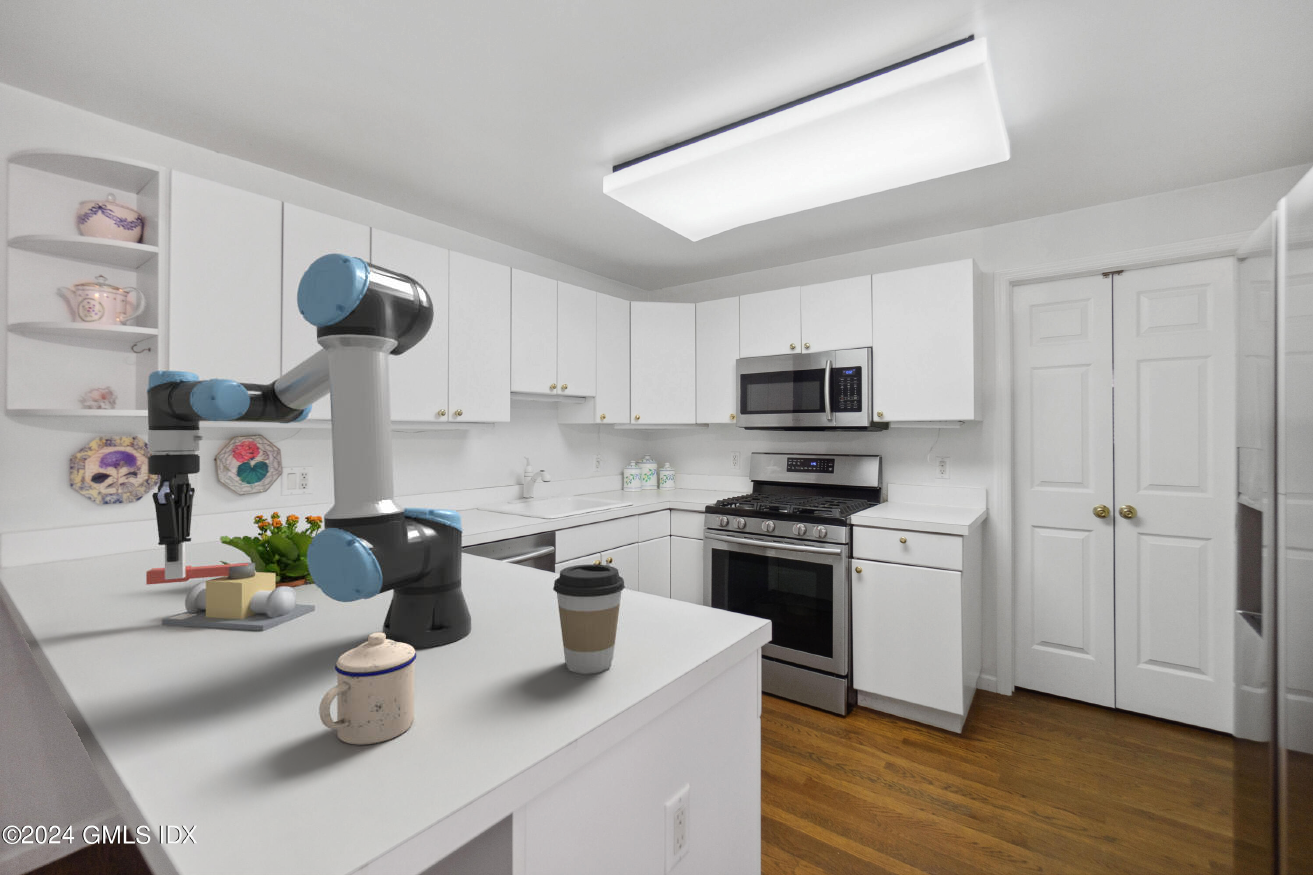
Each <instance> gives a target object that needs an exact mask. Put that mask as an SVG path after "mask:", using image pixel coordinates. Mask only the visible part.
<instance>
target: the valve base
mask: <svg viewBox="0 0 1313 875" xmlns="http://www.w3.org/2000/svg"><path fill="white" fill-rule="evenodd" d="M275 574H276V573H262V572H256V571H255V576H254V577H251V578H247V579H239V580H230V579H228V576H219V577H215V578H213V579H208V580H205V582H199V583H196V584H195V585H194V586H192V587H191V588H190V589H189V591H188V592H187V594H186V596H185V600H184V606H185V607H184V608H185V610H186V611H184V612H182V613H181V612H180V613H178V614H175V615H172V616H169V617H165V618H162V620H161V622H162V626H163V625H165V626H166V625H167V626H182V627H195V628H196V627H197V628H210V629H211V628H214V629H227V630H228V629H231V630H243V631H245V630H246V631H256V632H257V631H261V632H263V631H266V630H269V629H272V628H273V627H274V628H275V627H276V626H279V625H281V624H283V623H286V622H288V621H289V622H290V621H291V620H294V619H297V618H299V617H301V616H304V615H306V614H309V613H311V612H313V611H315V610H316V605H313V604H297V600H298V598H297V593H296V591H295V589H294V587H286V586H280V587H277V588H275Z"/></svg>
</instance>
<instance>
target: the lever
mask: <svg viewBox="0 0 1313 875" xmlns="http://www.w3.org/2000/svg"><path fill="white" fill-rule="evenodd" d="M255 572H256V571H255V563H251V562H241V563H240V562H239V563H229V564H226V565H224V564H216V565H212V564H211V565H201V566H192V565H185V577H184V578H178V579H166V580H165V567H157V568H156V567H155V568H151V569H149V570H147V571H146V574H145V576H146V585H158V584H173V583H184V582H188V581H189V580H191V579H192V580H193V579H205V578H219V577H223V576H228V579H230V580H239V579H247V578H251V577H254V576H255Z"/></svg>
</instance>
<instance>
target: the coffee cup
mask: <svg viewBox="0 0 1313 875" xmlns="http://www.w3.org/2000/svg"><path fill="white" fill-rule="evenodd" d="M553 582H554V584H553V585H554V586H553V588H552V590H553V591H554V592H555V593H556V597H557V605H558V613H559V614H558V615H559V622H560V628H561V636H562V637H561V638H562V646H563V653H564V654H563V655H564V662H565V663H566V667H567V669H568V670H569V671H570V672H572V673H576V674H583V675H593V674H598V673H602V672H604V671H607V670H609V669H610V668H611V667H612V662H613V660H614V653H615V646H616V639H617V638H616V636H617V630H618V622H619V612H620V605H621V598H622V591H623V590H624V589H625V588H626V587H625V580H624V578H623V577H622V576H621V575H620V574H619V569H618V568H617V567H614V566H610V565H607V564H606V565H605V564H590V563H589V564H578V565H571V566H568V567H565V568H563V569H561V570H560V571H559V577H557V578H556V579H555V580H554V581H553Z"/></svg>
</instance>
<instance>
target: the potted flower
mask: <svg viewBox="0 0 1313 875" xmlns="http://www.w3.org/2000/svg"><path fill="white" fill-rule="evenodd" d="M279 514H280V512H278V511H273V512H272V514H270V521H268V519H269V518H268V517H267V518H266V517H265V518H264V515H263V514H260V515H255V516H254V517H253V520H254V521H253V524H254V525H257V526H256V528H258V530H259V531H260V532H258V533H257V535H258V536H260V537H258V536H254V537H253V538H252V536H248V535H243V536H242V537H241V536H234V537H232V538H231V537H229V536H228V535H223V536H222V535H221V536H220V537H219V539H220V540H219V541H221V542H220V544H224V545H225V546H227V545H228V546H230V547H233V548H235V549H237V550H239V551H241V552H243V553H244V554H245V555H246V556H247V557H248V558H249V560H250V563H255V572H262V573H276V574H275V588H277V587H280V586H286V587H291V588H295V587H298V586H299V587H301V586H302V585H305V584H306V583H311V584H314V583H315V582H314V581H313V579H312V577H311V574H310V572H309V568H308V562H307V552H308V547H309V545H310V544H311V543H312V539H313V538H314V536H315V535H317V534H318V533H319V532H318V531H319V530H320V529H322V524H323V522H324V519H323V517H322V516H321V515H315V516H314V515H309V516H305V517H304V520H305V522H306V523H307V525H309V527H308V528H305V530H301V532H300V531H298V530H296V529H298V523H299V520H300V517H299V515H296V514H289V515H286V519H285V523H283V522H282V520H281V519H280V518H281V515H279ZM268 531H269V533H270V534H271V535H269V534H267V533H268ZM308 532H309V533H308ZM314 532H315V535H314V536H313V533H314ZM219 562H220V563H221V564H222V565H226V564H230V563H228V562H227V561H222V560H219Z"/></svg>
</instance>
